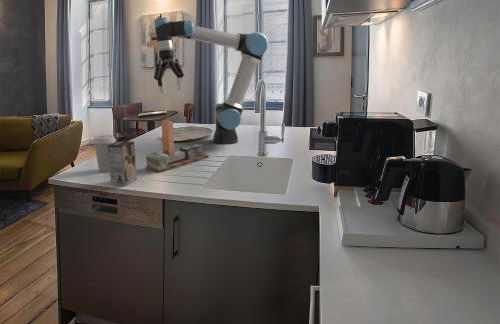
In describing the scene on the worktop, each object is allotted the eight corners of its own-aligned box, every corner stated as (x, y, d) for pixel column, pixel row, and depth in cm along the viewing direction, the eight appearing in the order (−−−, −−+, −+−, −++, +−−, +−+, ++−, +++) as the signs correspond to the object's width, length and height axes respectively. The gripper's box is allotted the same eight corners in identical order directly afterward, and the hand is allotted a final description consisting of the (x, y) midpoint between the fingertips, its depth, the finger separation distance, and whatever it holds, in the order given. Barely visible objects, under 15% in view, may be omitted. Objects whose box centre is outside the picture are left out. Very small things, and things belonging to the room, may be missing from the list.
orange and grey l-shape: (185, 155, 184) (184, 117, 180) (191, 156, 182) (190, 118, 177) (154, 164, 168) (152, 122, 163) (160, 165, 166) (158, 123, 161)
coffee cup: (108, 166, 172) (105, 133, 168) (123, 169, 167) (120, 136, 163) (90, 171, 164) (87, 137, 160) (105, 174, 159) (102, 140, 155)
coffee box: (122, 178, 155) (119, 140, 151) (137, 179, 154) (134, 141, 149) (110, 185, 146) (107, 145, 142) (125, 186, 145) (122, 146, 141)
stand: (195, 155, 194) (194, 142, 193) (208, 157, 190) (208, 144, 188) (145, 169, 168) (144, 154, 166) (159, 172, 163) (158, 157, 161)
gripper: (176, 50, 206) (182, 89, 211) (142, 50, 186) (149, 94, 191) (187, 48, 202) (192, 88, 207) (153, 49, 182) (160, 93, 187)
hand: (171, 91), depth 199 cm, fingers open, 13 cm apart
